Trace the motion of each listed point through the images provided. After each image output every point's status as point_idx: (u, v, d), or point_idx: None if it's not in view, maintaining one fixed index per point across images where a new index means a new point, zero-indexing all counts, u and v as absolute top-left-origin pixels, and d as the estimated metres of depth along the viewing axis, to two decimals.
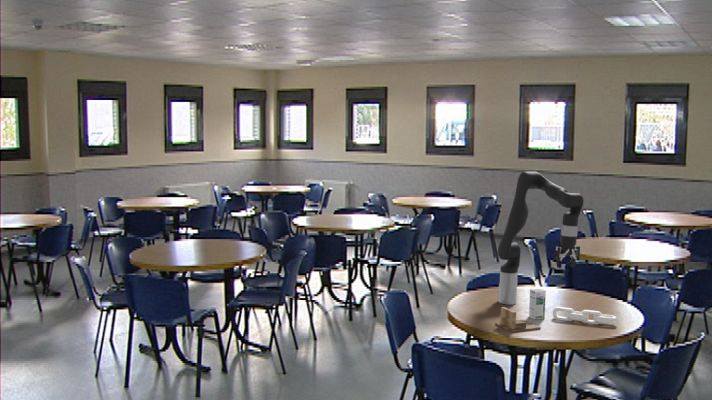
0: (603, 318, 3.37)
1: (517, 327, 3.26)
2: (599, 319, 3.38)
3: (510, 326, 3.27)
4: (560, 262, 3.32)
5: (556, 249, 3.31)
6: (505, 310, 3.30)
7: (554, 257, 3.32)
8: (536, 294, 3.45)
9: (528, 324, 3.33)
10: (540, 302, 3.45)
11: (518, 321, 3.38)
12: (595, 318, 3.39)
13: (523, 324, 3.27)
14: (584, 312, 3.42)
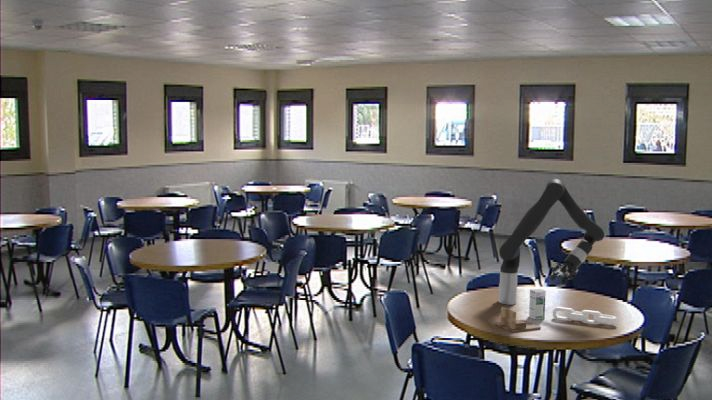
0: (603, 318, 3.37)
1: (517, 327, 3.26)
2: (599, 319, 3.37)
3: (510, 326, 3.27)
4: None
5: (576, 271, 3.47)
6: (505, 310, 3.30)
7: (571, 276, 3.46)
8: (536, 294, 3.45)
9: (528, 324, 3.33)
10: (540, 302, 3.45)
11: (518, 321, 3.38)
12: (595, 318, 3.39)
13: (523, 324, 3.27)
14: (584, 312, 3.41)
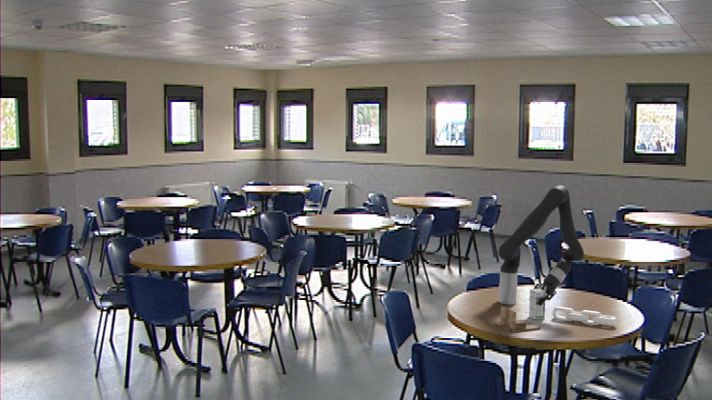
0: (602, 319, 3.36)
1: (517, 327, 3.26)
2: (598, 320, 3.36)
3: (510, 326, 3.27)
4: None
5: (553, 292, 3.43)
6: (505, 310, 3.30)
7: (547, 297, 3.43)
8: (536, 294, 3.45)
9: (528, 324, 3.33)
10: None
11: (518, 321, 3.38)
12: (594, 319, 3.38)
13: (523, 324, 3.27)
14: (583, 312, 3.41)
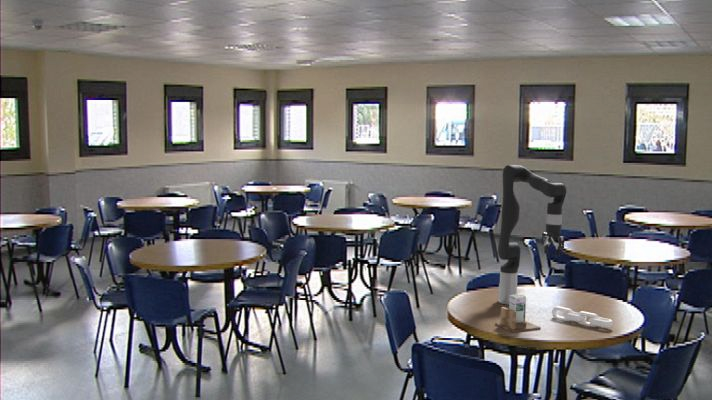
0: (596, 321, 3.32)
1: (517, 327, 3.26)
2: (593, 321, 3.33)
3: (510, 326, 3.27)
4: None
5: (562, 239, 3.39)
6: (505, 310, 3.30)
7: (560, 247, 3.39)
8: (516, 300, 3.27)
9: (528, 324, 3.33)
10: (521, 308, 3.28)
11: None
12: (589, 320, 3.35)
13: (523, 324, 3.27)
14: (580, 313, 3.39)
